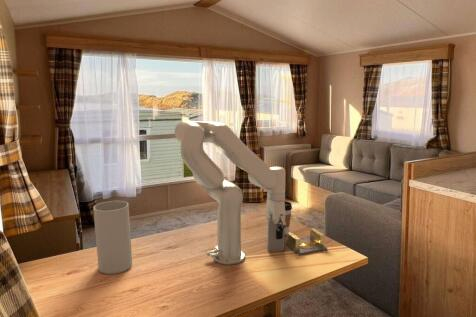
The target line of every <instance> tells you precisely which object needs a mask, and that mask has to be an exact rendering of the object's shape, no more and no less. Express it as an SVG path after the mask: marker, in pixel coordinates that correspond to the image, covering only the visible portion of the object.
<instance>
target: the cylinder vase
mask: <svg viewBox="0 0 476 317" xmlns="http://www.w3.org/2000/svg"><path fill="white" fill-rule="evenodd" d="M129 208H130V207H129V202H127V201H124V200H110V201H104V202H103V201H102V202H99V203H97V204H95V205H93V208H92V209H93V218H94V232H95V242H96V244H95V245H96V254H97V267H98V270H99V272H101V273H103V274H104V275H105V274H106V275H114V274H120V273H121V274H122V273H123V272H126V271H127V270H129V269H130V268H131V267H132V265H133V256H132V253H133V252H132V240H131V238H132V237H131V223H130V209H129Z"/></svg>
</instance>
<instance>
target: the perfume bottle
mask: <svg viewBox="0 0 476 317" xmlns="http://www.w3.org/2000/svg"><path fill="white" fill-rule="evenodd" d="M270 217H271V218H272V215H271V214H270ZM266 220H267V221H266V222H267V223H266V224H267V225H266V226H267V227H266V228H267V229H266V230H267V233H266V234H267V235H266V236H267V238H266V241H267V242H266V245H267V246H266V247H267V251H268V252H284V251H285V244H284V241H285V235H284V230H283V238H282V239H276V230H277V226H276V224H273V221H272V220H271V219H269V218H268V219H267V218H266ZM278 223H281V221H279V222H278ZM280 226H281V224H279V227H280Z"/></svg>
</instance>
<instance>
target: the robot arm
mask: <svg viewBox="0 0 476 317" xmlns="http://www.w3.org/2000/svg"><path fill="white" fill-rule="evenodd" d="M174 136H175V138H176V140H177V141H179V142H180V143H181V144H180V156H181V159H182V162H183V163H184V164H185V165H186V167H187V168H188V169H189V170H190V171H191V172H192V177H193V179H194V180H195V182H196V183H197V184H198V185H199V186H200V187H201V188H202V189H203V190H204V191H205V192H206V193H207V194H208V195H209V196H210V197H211V198H212V199H213V200H215V201H216V202H218V209H217V216H216V220H217V221H216V222H217V225H216V226H217V229H216V232H217V245H216V246H215V248H214V249H213V250H207V251H205V254H206V257H209V256H210V257H211V258H213V259H214V261H215V262H217V263H219V264H222V265H228V266H229V265H237V264H240V263H242V262H243V261H244V260H245V258H246V254H245V253H244V252H243V251H242V206H243V200H244V196H243V194H244V193H243V191H242V189H241V188H240V187H239V186H238V185H237V184H235V183H233V182H232V181H229V180H227V179H226V178H225V176H224V175H225V174H224V172H223V170H222V169H221V168H220V167H219V166H218V165H217V164H216V163H215V162H214V161H213V160H212V158H211V157H210V156H209V155H208V154H207V153H206V151H205V149H204V143H211V144H213V145H214V146H215V147H217V149H218V150H220V152H222V153H223V155H224V156H225V157H226V158H227V159H228V160H229V161H230V163H232V164H234V165H235V166H236V167H238V168H239V169H241V170H243V171H245V172H246V173H247V178H248V182H250V183H251V184H252V185H254V186H256V187H258V188H260V189H262V190H265V191H266V192H267V194H266V195H267V196H266V204H265V218H266V220H267V219H268V218H269V219H271V220H272V221H273V224H276V226H277V230H276V239H282V238H283V230H284V228H285V226H286V223H285V203H284V201H285V200H286V169H285V168H284V167H282V166H271V167H270V166H268V164H267V163H266V162H265V161H264V160H263V159H261V157H259V156H258V155H257V154H256V153H255V152H254V151H252V150H251V149H250V148H249V147H248V146H247V145H246V144H245V143H244V142H243V141H242V140H241V139H240V138H239V137H238V135H237V134H236V133H235V132H234V131H233V130H232V128H230V126H228V125H227V124H226V123H224V122H223V123H222V122H218V121H196V120H182V121H181V122H179V123H177V124H176V126H175V128H174ZM270 214H271V215H272V218H271V217H270ZM279 221H281V223H278V222H279ZM279 224H281V226H280V227H279Z"/></svg>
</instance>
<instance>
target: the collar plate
mask: <svg viewBox="0 0 476 317" xmlns="http://www.w3.org/2000/svg"><path fill="white" fill-rule="evenodd" d="M309 232H310V233H309V236H306V237H301V238H300V237H298V236H297V235H296V234H294V233H293V232H291V231H289V232H288V233H287V234H286V240H284V246H286V247H287V248H289V249H290V250H291V251H293V253H295V254H296V255H297V256H302V255H308V254H309V255H310V254H315V253H318V252H319V251H320V252H324V251H323V250H325V251H328V247H327V246H325V234H324V233H323V232H321V231H319V230H318V229H316V228H315V227H314V228H310V229H309ZM320 252H319V253H320Z"/></svg>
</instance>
